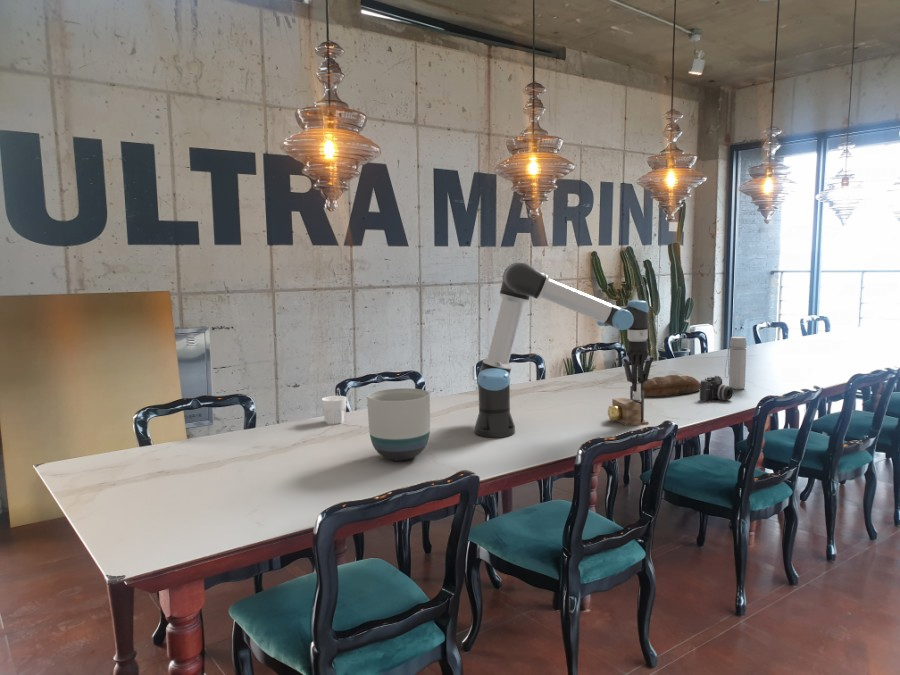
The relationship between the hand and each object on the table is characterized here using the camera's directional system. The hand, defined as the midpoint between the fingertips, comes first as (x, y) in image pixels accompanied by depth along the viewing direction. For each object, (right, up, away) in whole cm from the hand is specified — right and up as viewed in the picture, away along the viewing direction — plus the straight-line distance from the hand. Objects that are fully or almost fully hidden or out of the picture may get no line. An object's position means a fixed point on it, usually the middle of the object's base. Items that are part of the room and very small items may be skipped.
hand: (637, 399), depth 240 cm
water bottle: (+65, -1, +57) cm, 87 cm away
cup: (-121, -11, +11) cm, 122 cm away
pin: (-5, -8, 0) cm, 9 cm away
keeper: (0, -7, +1) cm, 7 cm away
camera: (+46, -4, +34) cm, 57 cm away
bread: (+31, -2, +51) cm, 60 cm away
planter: (-90, -16, -39) cm, 100 cm away
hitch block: (-3, -9, 0) cm, 9 cm away
